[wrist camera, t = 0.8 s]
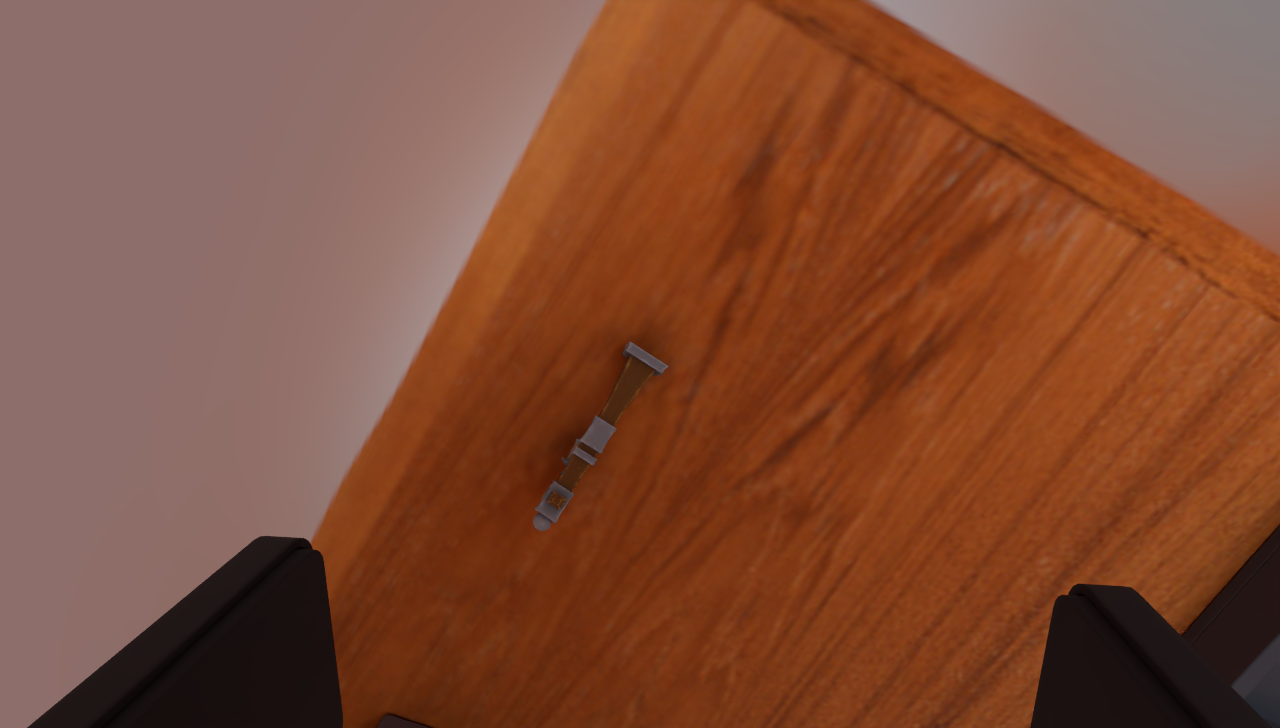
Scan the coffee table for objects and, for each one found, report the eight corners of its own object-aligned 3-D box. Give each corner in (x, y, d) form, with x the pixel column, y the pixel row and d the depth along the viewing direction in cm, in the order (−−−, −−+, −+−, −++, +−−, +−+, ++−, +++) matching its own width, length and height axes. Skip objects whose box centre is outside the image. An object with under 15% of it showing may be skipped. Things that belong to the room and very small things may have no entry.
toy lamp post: (520, 505, 31) (516, 520, 27) (618, 350, 32) (630, 340, 28) (555, 527, 31) (557, 545, 27) (652, 372, 32) (669, 365, 28)
